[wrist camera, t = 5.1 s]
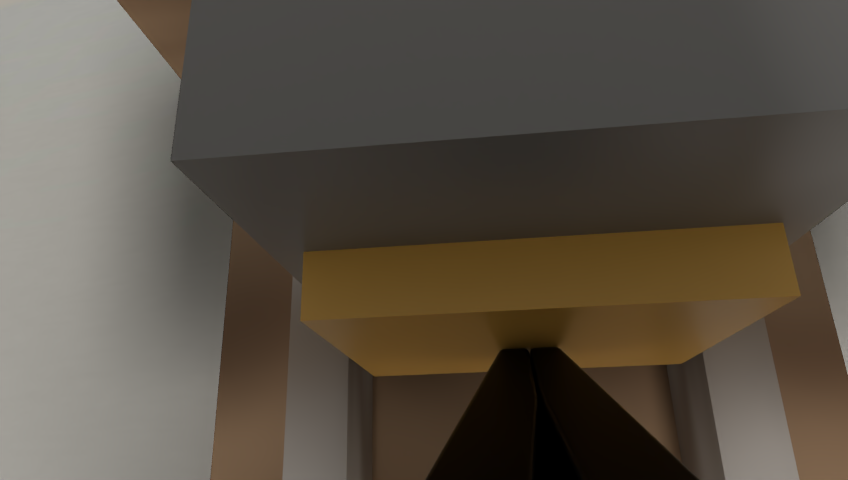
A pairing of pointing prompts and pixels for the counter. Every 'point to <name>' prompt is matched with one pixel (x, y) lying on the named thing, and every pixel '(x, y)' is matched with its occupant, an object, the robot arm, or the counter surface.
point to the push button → (521, 166)
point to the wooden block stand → (451, 393)
